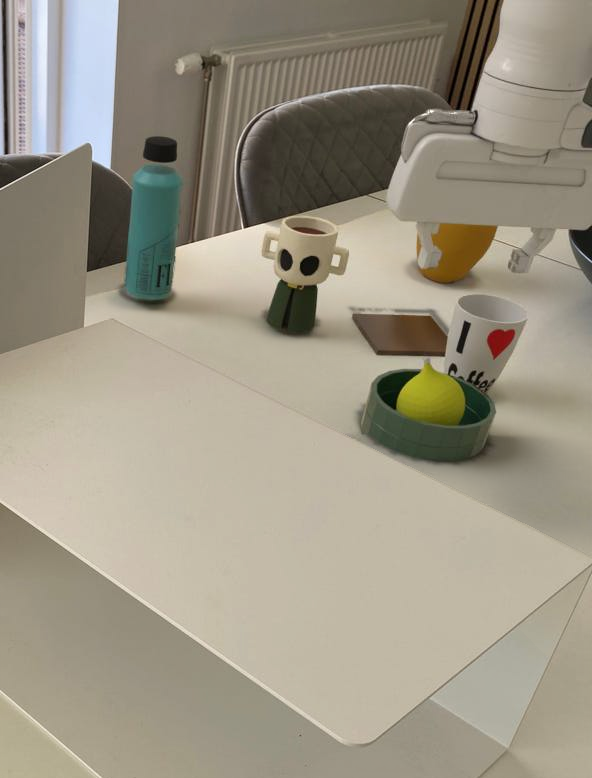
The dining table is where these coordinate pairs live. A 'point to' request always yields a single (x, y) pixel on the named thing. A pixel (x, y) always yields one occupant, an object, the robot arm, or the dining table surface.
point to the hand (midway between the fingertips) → (472, 269)
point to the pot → (421, 435)
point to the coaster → (402, 334)
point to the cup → (482, 338)
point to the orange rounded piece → (458, 249)
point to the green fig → (432, 398)
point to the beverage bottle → (154, 222)
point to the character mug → (301, 269)
